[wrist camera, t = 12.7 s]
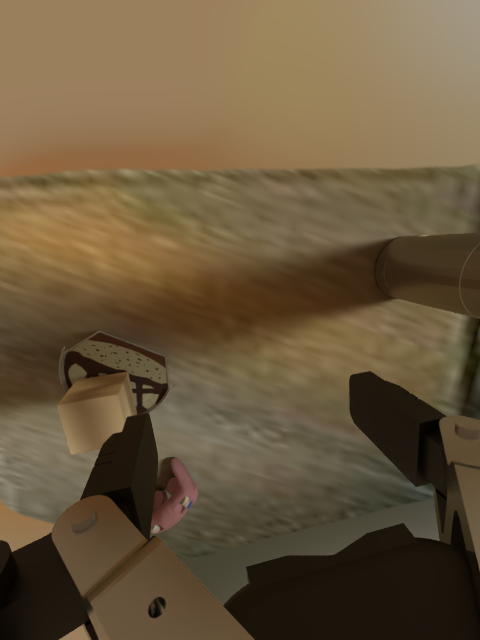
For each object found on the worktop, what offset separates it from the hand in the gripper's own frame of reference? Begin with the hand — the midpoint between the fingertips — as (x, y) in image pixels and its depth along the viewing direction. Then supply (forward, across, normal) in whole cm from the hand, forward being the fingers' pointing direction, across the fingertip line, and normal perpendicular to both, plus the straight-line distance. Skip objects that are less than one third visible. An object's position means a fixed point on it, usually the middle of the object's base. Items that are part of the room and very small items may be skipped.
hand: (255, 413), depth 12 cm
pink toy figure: (+30, +10, +29) cm, 43 cm away
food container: (+30, +12, +8) cm, 34 cm away
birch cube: (+20, +12, +8) cm, 25 cm away
